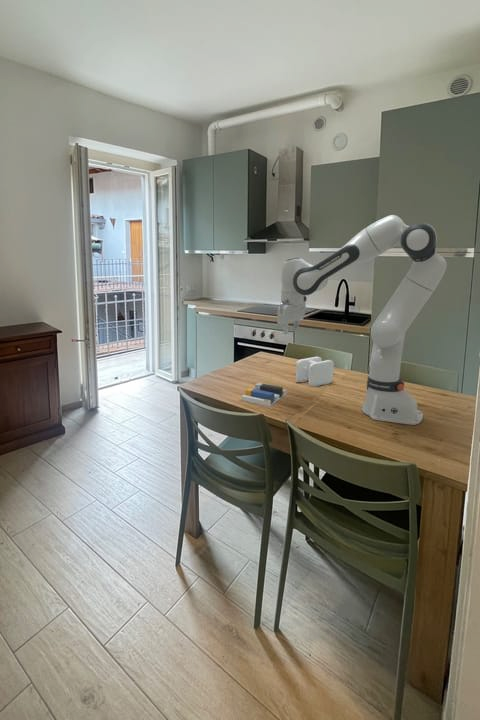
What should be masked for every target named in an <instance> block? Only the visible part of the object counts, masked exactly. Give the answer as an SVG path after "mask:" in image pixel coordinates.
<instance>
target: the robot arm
mask: <svg viewBox="0 0 480 720" xmlns="http://www.w3.org/2000/svg"><path fill="white" fill-rule="evenodd" d="M437 236H438V235H437V231H436V229H435V228H434V227H433V226H432V225H430V224H429V223H426V222H416V223H413V224H411V225H407V224H405V222H404V221H403V219H401V217H399V216H398V215H396V214H390V215H388V216H385V217H383V218H381V219H378V220H377V221H374V222H373V223H371V224H370V225H368V226H366V227H365V228H363V229H362V230H360V231H359V232H358V233H356V235H354V236H353V237H352V238H351V239H349V240H348V242H346V244H344V245H343V246H342V247H340V248H339V249H338V250H337V251H336V252H334V253H333V254H331V255H330V256H328V257H327V258H325V259H323V260H321V261H320V262H319V263H316V264H315V265H313V264H311V263H309V262H307V261H306V260H304V259H303V258H302V257H294V258H289V259H286V260H285V261H284V262H283V263H282V270H281V284H282V287H281V292H280V293H281V295H280V304H279V305H278V308H277V316H276V323H277V325H281V327H282V333H283V335H288V334H289V332H290V330H289V324H291V323H293V322H294V324H293V326H292V331H298V330H299V325H300V323H301V320H302V319H304V318H305V315H306V310H307V309H306V308H307V305H306V304H307V303H306V302H307V300H308V296H309V295H312V294H314V293H316V292H318V291H321V290H322V289H324V288H325V287H326V285H327V284H328V281H329V278H330V277H332V276H333V275H334V274H336V273H338V272H339V271H341V270H343V269H345V268H348V267H350V266H355V265H358V264H363V263H367V262H369V261H371V260H374V259H375V258H377V257H379V256H380V255H382V254H384V253H385V252H387V251H388V250H391V249H392V248H395V247H401V248H402V249H403V251H404V253H405V254H406V255H408V257H409V258H411V259H412V264H411V266H410V268H409V269H408V271H407V273H406V274H405V275H404V277H403V279H402V280H401V282H400V284H399V285H398V286H397V288H396V290H394V293H393V294H392V295H391V296H390V298H389V300H388V301H387V303H386V304H385V305H384V307H383V308H382V310H381V311H380V313H379V315H378V316H376V319H375V320H374V321H373V323H372V325H371V327H370V338H371V340H372V342H373V344H372V349H371V355H370V361H369V362H370V363H369V371H368V372H369V373H368V376H367V379H366V395H365V399H364V403H363V406H362V408H361V411H362V412H363V413H364V414H365V415H367V416H369V417H370V418H371V419H372V420H374V421H380V422H388V423H395V424H403V425H410V426H415V425H418V424H421V422H422V421H423V419H424V414H423V412H422V411H421V410H419V409H418V402H417V400H416V398H414V397H413V396H412V395H411V394H410V393H408V392H407V391H406V390H405V380H402V379H401V378H400V374H401V364H402V356H403V351H404V344H405V337H406V332H407V330H408V329H409V328H410V326H411V325H412V323H413V322H414V320H415V319H416V317H417V316H418V315H419V313H420V311H421V310H422V309H423V307H424V306H425V305H426V303H427V301H428V300H429V299H430V297H431V296H432V294H433V293H434V291H435V290H436V288H437V287H438V285H439V284H440V282H441V280H442V279H443V277H444V275H445V273H446V270H447V268H448V263H447V260H446V259H445V258H444V257H443V256H442V255H440V254H439V253H437V251H436V245H437V240H438V237H437Z"/></svg>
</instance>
